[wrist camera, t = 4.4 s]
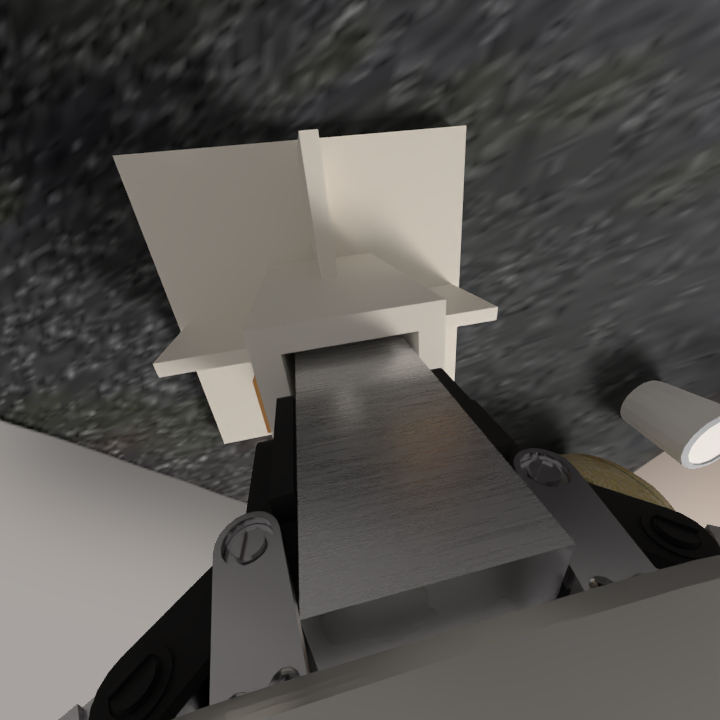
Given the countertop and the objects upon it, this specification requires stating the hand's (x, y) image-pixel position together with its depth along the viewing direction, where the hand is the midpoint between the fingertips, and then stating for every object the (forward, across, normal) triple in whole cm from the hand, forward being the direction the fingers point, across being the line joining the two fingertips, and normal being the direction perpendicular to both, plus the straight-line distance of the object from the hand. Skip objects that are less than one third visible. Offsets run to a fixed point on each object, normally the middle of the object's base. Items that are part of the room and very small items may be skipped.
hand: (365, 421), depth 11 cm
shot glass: (+15, -34, +17) cm, 41 cm away
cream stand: (+15, 0, 0) cm, 15 cm away
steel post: (+12, 0, 0) cm, 12 cm away
